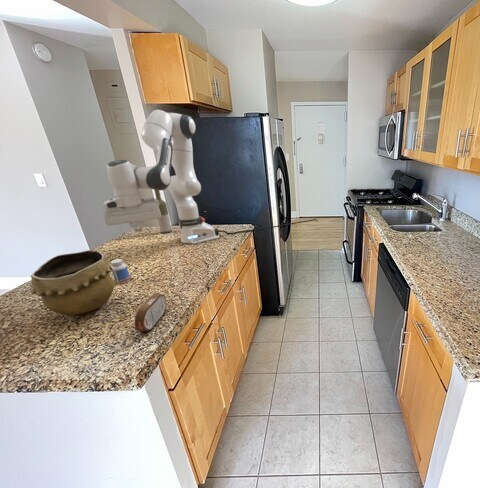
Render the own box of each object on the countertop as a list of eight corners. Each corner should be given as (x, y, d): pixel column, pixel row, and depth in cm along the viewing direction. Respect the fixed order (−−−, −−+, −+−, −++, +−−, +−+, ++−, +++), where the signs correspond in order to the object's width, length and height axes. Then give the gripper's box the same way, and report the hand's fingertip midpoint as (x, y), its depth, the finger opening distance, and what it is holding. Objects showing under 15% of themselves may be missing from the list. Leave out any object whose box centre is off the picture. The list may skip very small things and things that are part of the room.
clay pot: (108, 321, 89) (89, 269, 81) (30, 333, 83) (2, 279, 76) (132, 290, 107) (117, 245, 100) (69, 298, 102) (49, 251, 94)
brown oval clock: (161, 308, 95) (156, 288, 92) (170, 308, 96) (165, 288, 93) (137, 337, 82) (130, 315, 78) (148, 336, 82) (141, 314, 79)
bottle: (168, 233, 174) (158, 188, 163) (158, 233, 174) (147, 188, 163) (174, 230, 180) (164, 186, 169) (164, 230, 180) (154, 186, 169)
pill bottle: (133, 277, 117) (127, 258, 114) (125, 283, 112) (119, 263, 109) (121, 278, 117) (114, 258, 113) (112, 284, 112) (105, 263, 108)
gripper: (157, 196, 118) (164, 224, 123) (100, 202, 108) (111, 233, 113) (158, 198, 113) (165, 228, 118) (98, 205, 103) (109, 237, 108)
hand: (138, 231), depth 116 cm, fingers closed
